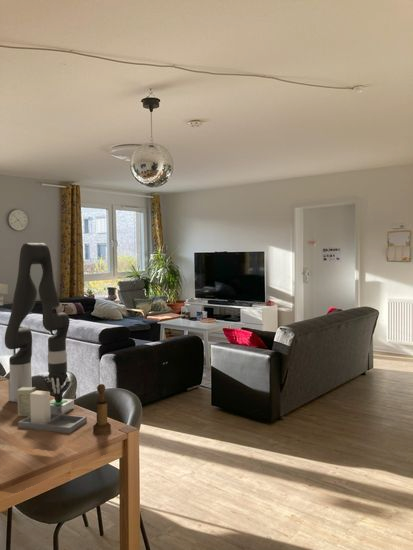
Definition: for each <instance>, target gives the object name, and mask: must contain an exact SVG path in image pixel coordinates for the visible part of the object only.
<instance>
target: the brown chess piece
mask: <svg viewBox="0 0 413 550" xmlns="http://www.w3.org/2000/svg"><path fill="white" fill-rule="evenodd" d="M96 389H97V392H98V394H99V395H98V401H96V404H95V405H96V406H95V407H96V422H95V424H94V425H93V427H92V430H93V431H92V432H93V434H95V435H98V436H99V435H100V436H101V435H102V436H104V435H106V434H110V433H111V432H112V429H111V428H112V424H111V423H110V422H108V401H105V395H104V393H105V391H106V386H105V384H103V383H99V384H98V385H97V387H96Z"/></svg>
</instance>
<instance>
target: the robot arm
mask: <svg viewBox="0 0 413 550" xmlns="http://www.w3.org/2000/svg"><path fill="white" fill-rule="evenodd" d="M19 251H20V252H19V258H18V259H19V260H18V261H19V262H18V271H17V279H16V285H15V288H14V294H13V300H12V306H11V311H10V314H9V315H10V316H9V319H8V323H7V326H6V329H5V333H4V345H5V348H6V349H8V350H16V349H17V350H18V351H17V352H16V353H14V354H13V355H11V356H10V357H9V361H8V363H9V379H8V380H7V389H8V401H10V402H11V403H12V402H13V403H18V402H17V390H18V389H20V388H22V387H33V383H32V380H33V379H32V355H33V334H32V331H31V329H30V328H29V327H27V326H24V327H23V326H21V324H22V323H23V321H24V320H25V318H26V317H27V316H28V315H29V314H30V313H31V312H32V310H33V309H34V307H35V304H36V301H37V297H38V296H37V295H38V294H39V299H40V302H41V307H42V326H43V328H44V329H45V331H48V332H55V331H56V332H55V334H53V335H51V336H49V337H48V339H47V372H48V375H47V377H46V378H44V379H43V382H44V385H45V386H46V388H47V389H48V390H49V392H50V393H53V394H54V399H55V401H56V402H61V401H62V399H64V398H63V394H64V393H65V392H67V390H68V389H69V388H70V386H71V385H72V383H73V380H72V379H70V378H69V377H68V374H67V373H68V357H67V343H66V342H67V341H66V339H67V335H68V332H69V327H70V321H71V320H70V318H69V315H68V314H67V313H66V312H63V311H62V312H55V313H53V311H54V310H55V309H58V308H59V307H60V305H61V304H60V298H59V295H58V293H57V289H56V288H57V287H56V285H55V279H54V272H53V264H52V256H51V251H50V248H49V246H48V244H46V243H45V242H26V243H23V244H22V246H21V248H20V250H19ZM32 265H40V266H41V270H42V273H41V274H42V276H41V278H40V282H39V285H38V290H37V287H36V285H35V282H34V281H33V279H32V276H31V268H32Z"/></svg>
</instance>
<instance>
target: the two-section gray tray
mask: <svg viewBox="0 0 413 550" xmlns="http://www.w3.org/2000/svg"><path fill="white" fill-rule="evenodd" d="M87 419H88V418H87V416H84V415H83V416H82V415H74V414H66V413H65V414H56V413H51V420H50V421H48V422H46V423H45V424H40V423H31V415H30V416H25V418H23V419H21V420H19V421H17V424H18V425H17V426H18V427H17V428H19V429H27V430H28V429H30V430H38V431H47V432H52V433H53V432H54V433H62V434H71V433H73V432H74V431H76V430H78V429H79V428H80V427H82V426H83V425H84V424H86V423H87V422H88V420H87Z"/></svg>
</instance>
